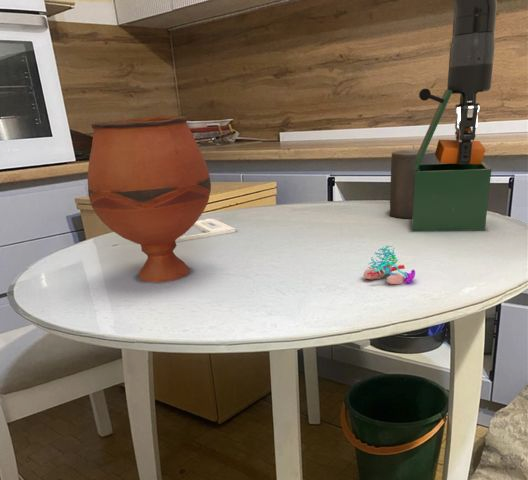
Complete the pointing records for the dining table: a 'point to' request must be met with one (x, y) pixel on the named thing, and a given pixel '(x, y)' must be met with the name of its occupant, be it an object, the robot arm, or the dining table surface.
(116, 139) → the goblet
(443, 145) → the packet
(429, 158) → the pillar candle
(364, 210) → the dining table surface
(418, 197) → the bin
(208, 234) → the photo frame
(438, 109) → the bin lid
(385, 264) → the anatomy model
